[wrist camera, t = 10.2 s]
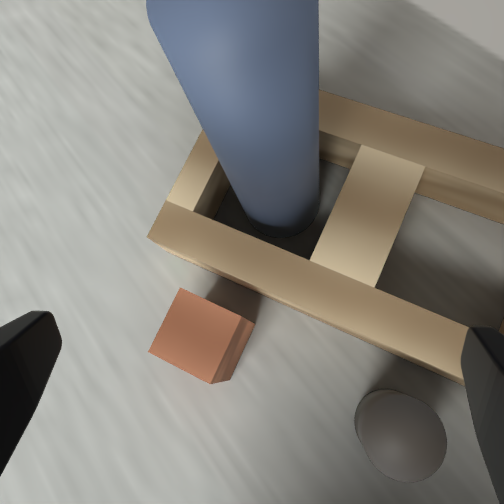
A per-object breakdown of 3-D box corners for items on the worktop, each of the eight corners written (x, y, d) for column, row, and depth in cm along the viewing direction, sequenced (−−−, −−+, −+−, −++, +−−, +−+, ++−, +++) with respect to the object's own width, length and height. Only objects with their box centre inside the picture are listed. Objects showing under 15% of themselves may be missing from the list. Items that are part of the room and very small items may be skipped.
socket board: (476, 506, 19) (516, 543, 15) (128, 328, 23) (90, 321, 19) (579, 209, 21) (637, 176, 17) (246, 97, 25) (233, 50, 21)
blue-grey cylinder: (288, 252, 23) (243, 95, 9) (229, 210, 24) (112, 14, 10) (334, 193, 23) (355, -40, 10) (274, 154, 24) (218, -105, 11)
